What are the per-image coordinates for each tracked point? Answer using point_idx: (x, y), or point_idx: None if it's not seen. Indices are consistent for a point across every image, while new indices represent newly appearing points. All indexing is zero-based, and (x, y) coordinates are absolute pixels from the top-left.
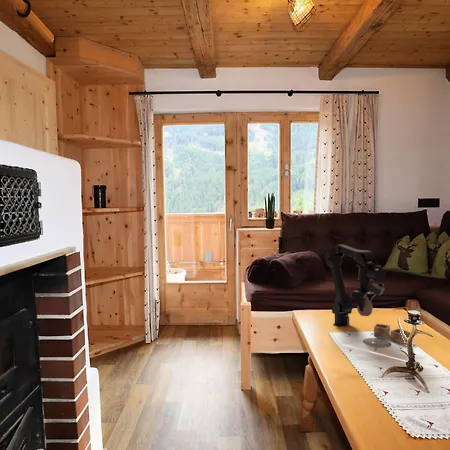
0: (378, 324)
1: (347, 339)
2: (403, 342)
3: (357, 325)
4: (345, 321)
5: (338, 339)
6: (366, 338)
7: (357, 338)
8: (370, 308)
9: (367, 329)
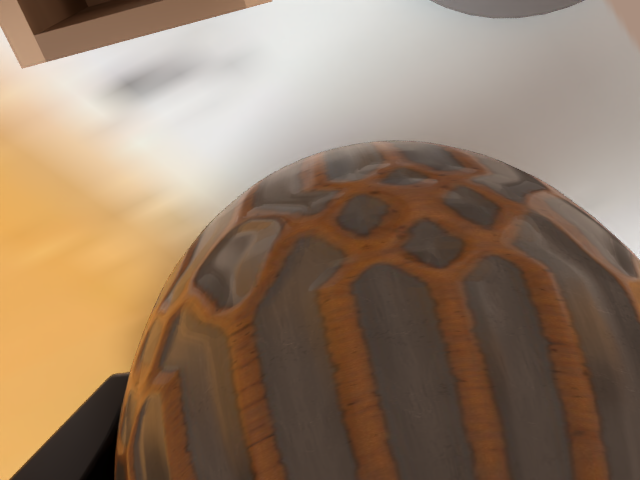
0: (31, 18)
1: (582, 186)
2: None
3: (28, 345)
4: None
5: (636, 249)
6: (459, 10)
7: (476, 122)
8: (548, 213)
9: (45, 202)
